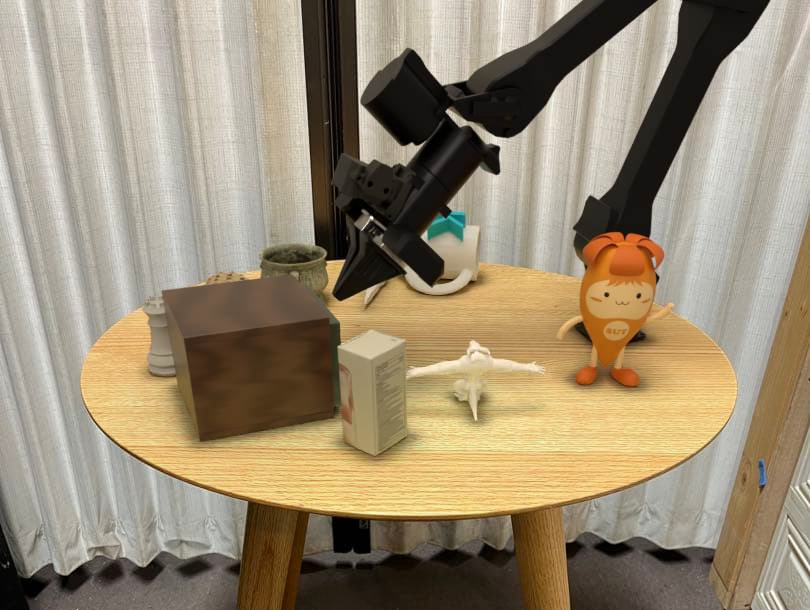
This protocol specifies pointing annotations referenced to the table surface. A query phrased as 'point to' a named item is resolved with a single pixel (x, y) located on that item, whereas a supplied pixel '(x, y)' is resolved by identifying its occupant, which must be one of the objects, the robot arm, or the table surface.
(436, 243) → the mug
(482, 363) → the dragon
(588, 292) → the toy figure
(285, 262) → the vessel
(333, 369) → the drawer
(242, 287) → the cabinet
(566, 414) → the table surface
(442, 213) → the robot arm
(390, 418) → the printed medicine carton
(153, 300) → the rook chess piece
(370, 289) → the pale tapered spike
